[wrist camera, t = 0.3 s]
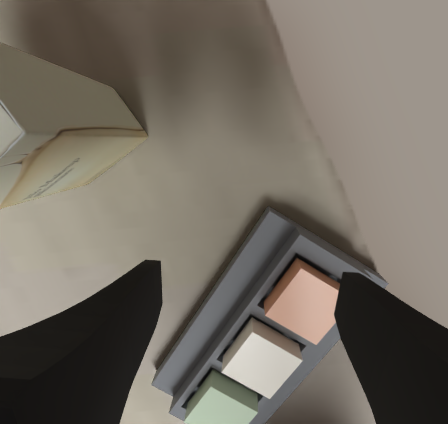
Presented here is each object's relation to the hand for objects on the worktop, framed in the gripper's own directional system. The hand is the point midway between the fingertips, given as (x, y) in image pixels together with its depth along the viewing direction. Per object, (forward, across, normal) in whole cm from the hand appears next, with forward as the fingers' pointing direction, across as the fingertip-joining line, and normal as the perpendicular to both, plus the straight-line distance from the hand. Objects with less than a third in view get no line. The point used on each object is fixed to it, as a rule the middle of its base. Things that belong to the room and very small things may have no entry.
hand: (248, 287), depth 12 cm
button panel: (+10, -2, +10) cm, 14 cm away
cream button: (+7, -2, +10) cm, 12 cm away
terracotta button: (+7, -4, +5) cm, 10 cm away
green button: (+6, +1, +15) cm, 16 cm away
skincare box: (+11, +11, -4) cm, 16 cm away
